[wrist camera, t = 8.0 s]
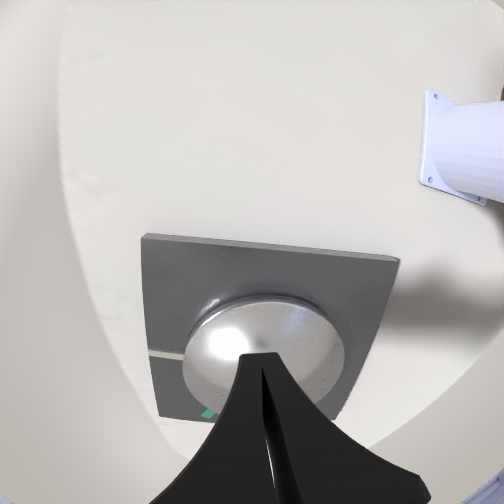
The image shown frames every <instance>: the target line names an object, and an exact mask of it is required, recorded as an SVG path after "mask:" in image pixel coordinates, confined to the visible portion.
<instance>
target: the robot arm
mask: <svg viewBox="0 0 504 504" xmlns="http://www.w3.org/2000/svg"><path fill="white" fill-rule="evenodd" d="M434 95H435V97H436V99H435V97H434ZM429 178H430V181H429V182H428V179H429ZM419 181H420V183H421V184H423V185H426V186H429V187H432V188H435V189H438V190H441V191H444V192H447V193H450V194H453V195H456V196H459V197H461V198H464V199H467V200H469V201H472V202H475V203H477V204H480V205H483V206H485V205H486V203H487V198H488V199H492V200H495V201H499V202H502V203H504V101H492V102H480V103H470V104H461V105H459V104H457V103H456V102H454V101H452V100H451V99H449V98H447V97H445V96H444V95H442V94H440V93H438V92H436V91H434V90H433V89H427V90H426V91H425V116H424V134H423V146H422V156H421V164H420V172H419ZM266 440H267V443H266ZM267 445H268V449H269V454H270V458H271V463H272V468H273V476H274V482H273V477H272V471H271V466H270V460H269V455H268V449H267ZM274 485H275V487H274ZM430 499H431V496H430V493H429V491H428V489H427V487H426V485H425V483H424V482H423V481H422V479H421V478H420V476H419V475H417V474H415V473H412V472H410V471H407V470H405V469H403V468H400V467H398V466H396V465H394V464H392V463H390V462H388V461H386V460H384V459H382V458H381V457H379V456H377V455H375V454H374V453H372V452H371V451H369V450H368V449H366V448H365V447H363V446H362V445H360V444H359V443H357V442H356V441H354V440H353V439H352V438H350V437H349V436H348V435H347V434H345V433H344V432H343V431H342V430H340V429H339V428H338V427H337V426H336V425H335V424H334V423H333V422H331V421H330V420H329V419H328V418H327V417H326V416H325V415H324V414H323V413H322V412H321V411H320V410H319V409H318V408H317V406H316V405H315V404H314V403H313V402H312V401H311V400H310V399H309V397H308V396H307V395H306V394H305V392H304V391H303V390H302V389H301V387H300V386H299V385H298V383H297V382H296V381H295V379H294V378H293V377H292V375H291V374H290V372H289V371H288V369H287V367H286V366H285V364H284V363H283V361H282V359H281V357H280V355H279V354H278V353H277V352H267V353H247V354H241V355H240V356H239V362H238V368H237V372H236V375H235V379H234V382H233V385H232V388H231V390H230V393H229V396H228V398H227V400H226V403H225V405H224V407H223V409H222V411H221V413H220V415H219V417H218V419H217V421H216V423H215V425H214V427H213V428H212V430H211V432H210V433H209V435H208V437H207V438H206V440H205V441H204V443H203V444H202V446H201V447H200V449H199V450H198V451H197V453H196V454H195V456H194V457H193V458H192V460H191V461H190V462H189V463H188V465H187V466H186V467H185V468H184V469H183V470H182V471H181V473H180V474H179V475H178V476H177V477H176V478H175V479H174V481H173V482H172V483H171V484H170V485H169V486H168V487H167V488H166V489H165V490H163V491H162V492H161V493H160V494H159V495H158V496H157V497H156V498H155V499H154V500H152V501H151V502H150V503H149V504H427V503H428V502H429V501H430ZM0 504H14V503H12V502H11V501H9V500H8V499H6V498H5V497H4V496H2V495H1V494H0ZM459 504H504V468H503V469H502V470H501V471H500V472H499V473H498V474H497V475H496V476H494V477H493V478H492V479H491V480H489V481H488V482H487V483H486V484H484V485H483V486H482V487H481V488H479V489H478V490H477V491H476V492H475V493H473V494H472V495H471V496H469V497H468V498H466V499H465V500H464V501H462V502H461V503H459Z"/></svg>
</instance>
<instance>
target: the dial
mask: <svg viewBox="0 0 504 504" xmlns="http://www.w3.org/2000/svg"><path fill="white" fill-rule="evenodd" d="M267 352H277V353H278V354H279V355H280V357H281V359H282V361H283V363H284V364H285V366H286V367H287V369H288V371H289V372H290V374H291V375H292V377H293V378H294V379H295V381H296V382H297V383H298V385H299V386H300V387H301V389H302V390H303V391H304V392H305V394H306V395H307V396H308V397H309V399H310V400H311V401H312V402H313V403H314V404H315V403H317V402H318V401H319V400H321V399H322V398H323V397H324V396H325V395H326V394H327V393H328V392H329V391H330V390H331V389H332V388H333V386H334V385H335V384H336V382H337V380H338V379H339V377H340V374H341V372H342V369H343V365H344V357H345V354H344V347H343V343H342V340H341V338H340V337H339V335H338V333H337V331H336V329H335V328H334V326H333V324H332V322H331V321H330V320H329V318H328V317H327V316H326V315H325V314H324V313H323V312H322V311H321V310H319V309H318V308H316V307H315V306H313V305H312V304H310V303H307V302H305V301H303V300H300V299H297V298H294V297H289V296H283V295H270V294H269V295H255V296H249V297H244V298H241V299H237V300H234V301H231V302H229V303H226V304H224V305H222V306H220V307H218V308H217V309H215V310H213V311H212V312H211V313H209V314H208V315H206V316H205V317H204V318H203V319H202V320H201V321H200V322H199V323H198V324H197V326H196V327H195V328H194V330H193V331H192V333H191V335H190V337H189V339H188V342H187V345H186V349H185V354H184V359H183V366H182V367H183V376H184V380H185V383H186V385H187V387H188V389H189V391H190V392H191V394H192V395H193V396H194V397H195V398H196V399H197V400H198V401H199V402H200V403H201V404H202V405H204V406H205V407H207V408H208V409H210V410H212V411H214V412H216V413H218V414H220V413H221V411H222V409H223V407H224V405H225V403H226V400H227V398H228V396H229V393H230V390H231V388H232V385H233V382H234V379H235V375H236V372H237V368H238V362H239V356H240V355H241V354H247V353H267Z"/></svg>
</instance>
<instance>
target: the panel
mask: <svg viewBox="0 0 504 504" xmlns="http://www.w3.org/2000/svg"><path fill="white" fill-rule="evenodd" d="M398 263H399V261H397V260H396V259H394V258H393V257H391V256H384V255H375V254H365V253H356V252H346V251H336V250H326V249H316V248H306V247H295V246H285V245H274V244H264V243H253V242H242V241H231V240H220V239H209V238H197V237H186V236H174V235H162V234H150V233H146V234H145V235H144V236H143V237H142V238H141V269H142V289H143V304H144V316H145V327H146V336H147V345H148V353H149V360H150V367H151V374H152V380H153V386H154V391H155V397H156V402H157V407H158V412H159V416H160V417H167V418H173V419H181V420H189V421H199V422H210V423H216V421H217V419H218V417H219V415H220V414H218V413H216V412H214V411H212V410H210V409H208V408H207V407H205V406H204V405H202V404H201V403H200V402H199V401H198V400H197V399H196V398H195V397H194V396H193V395H192V394H191V392H190V391H189V389H188V387H187V385H186V383H185V380H184V376H183V367H182V366H183V359H184V354H185V349H186V345H187V342H188V339H189V337H190V335H191V333H192V331H193V330H194V328H195V327H196V326H197V324H198V323H199V322H200V321H201V320H202V319H203V318H204V317H205V316H206V315H208V314H209V313H211V312H212V311H213V310H215V309H217V308H218V307H220V306H222V305H224V304H226V303H229V302H231V301H234V300H237V299H241V298H244V297H249V296H255V295H269V294H270V295H283V296H289V297H294V298H297V299H300V300H303V301H305V302H307V303H310V304H312V305H313V306H315V307H316V308H318V309H319V310H321V311H322V312H323V313H324V314H325V315H326V316H327V317H328V318H329V320H330V321H331V322H332V324H333V326H334V328H335V329H336V331H337V333H338V335H339V337H340V338H341V340H342V343H343V347H344V354H345V357H344V365H343V369H342V372H341V374H340V377H339V379H338V380H337V382H336V384H335V385H334V386H333V388H332V389H331V390H330V391H329V392H328V393H327V394H326V395H325V396H324V397H323V398H322V399H321V400H319V401H318V402H317V403H315V405H316V406H317V408H318V409H319V410H320V411H321V412H322V413H323V414H324V415H325V416H326V417H327V418H328V419H329V420H335V419H336V417H337V416H338V414H339V412H340V410H341V408H342V406H343V404H344V402H345V400H346V398H347V396H348V394H349V392H350V390H351V388H352V386H353V384H354V382H355V380H356V378H357V376H358V374H359V371H360V369H361V367H362V365H363V362H364V360H365V358H366V355H367V353H368V351H369V348H370V346H371V343H372V341H373V338H374V336H375V333H376V330H377V328H378V325H379V322H380V320H381V317H382V314H383V311H384V308H385V305H386V303H387V299H388V296H389V293H390V290H391V287H392V284H393V280H394V277H395V274H396V270H397V267H398Z"/></svg>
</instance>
